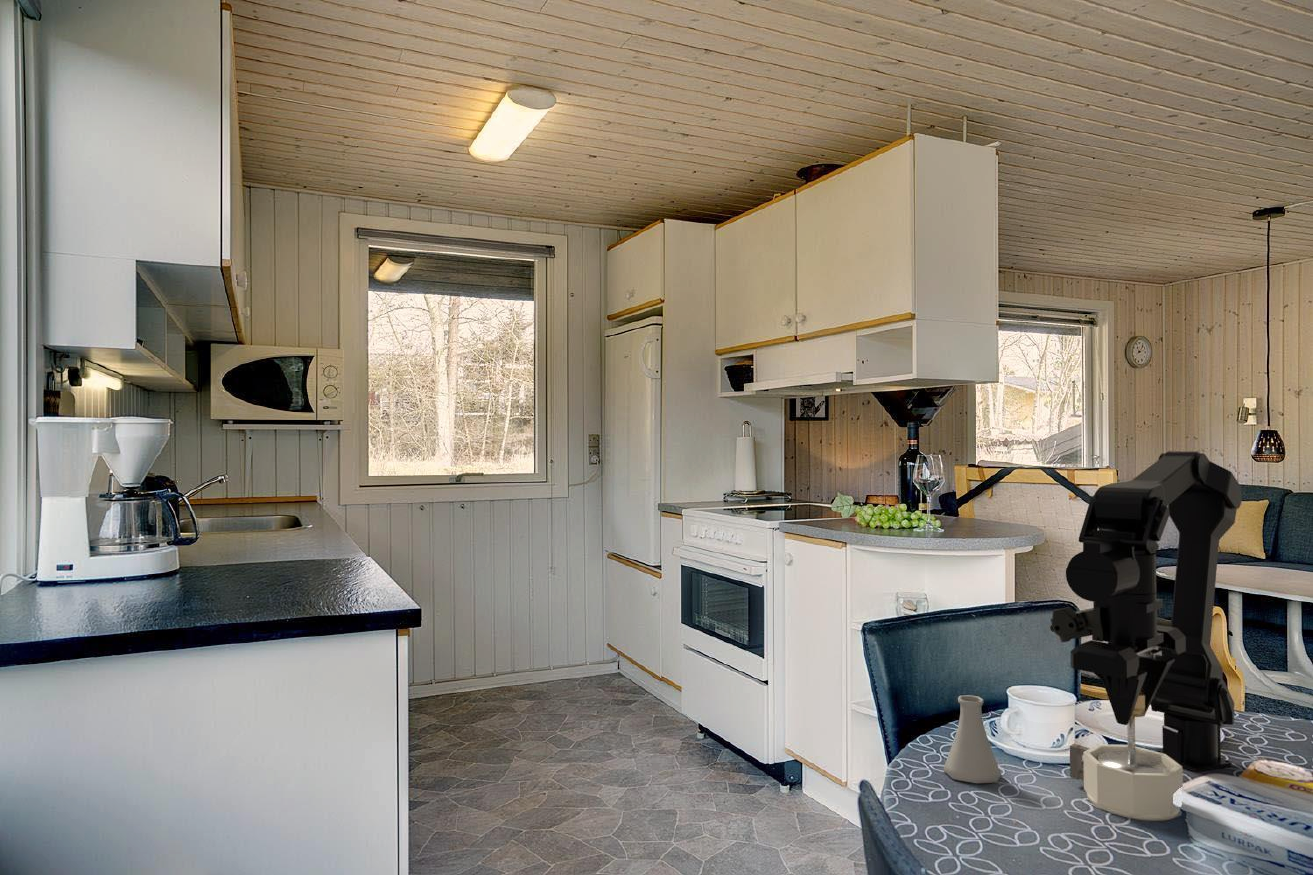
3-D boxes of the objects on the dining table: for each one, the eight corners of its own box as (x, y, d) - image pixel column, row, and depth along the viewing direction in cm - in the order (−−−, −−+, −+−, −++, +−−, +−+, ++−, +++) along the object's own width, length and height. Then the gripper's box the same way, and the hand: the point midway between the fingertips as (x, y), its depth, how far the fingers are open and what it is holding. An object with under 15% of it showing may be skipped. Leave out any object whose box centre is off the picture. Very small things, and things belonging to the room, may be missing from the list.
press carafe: (1089, 773, 109) (1089, 734, 109) (1193, 803, 100) (1192, 760, 100) (1054, 794, 103) (1053, 752, 103) (1161, 828, 94) (1160, 782, 94)
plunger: (1113, 751, 106) (1112, 680, 106) (1176, 768, 100) (1175, 693, 100) (1087, 765, 101) (1086, 692, 101) (1152, 784, 95) (1151, 706, 96)
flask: (1006, 787, 105) (1005, 708, 105) (946, 783, 107) (945, 705, 107) (995, 765, 112) (994, 691, 113) (939, 761, 114) (938, 689, 114)
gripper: (1093, 573, 113) (1095, 689, 113) (1025, 591, 101) (1027, 719, 101) (1186, 584, 104) (1188, 708, 104) (1123, 604, 92) (1126, 745, 92)
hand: (1131, 719), depth 101 cm, fingers open, 5 cm apart
